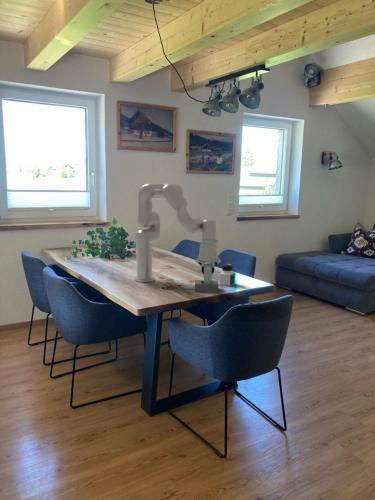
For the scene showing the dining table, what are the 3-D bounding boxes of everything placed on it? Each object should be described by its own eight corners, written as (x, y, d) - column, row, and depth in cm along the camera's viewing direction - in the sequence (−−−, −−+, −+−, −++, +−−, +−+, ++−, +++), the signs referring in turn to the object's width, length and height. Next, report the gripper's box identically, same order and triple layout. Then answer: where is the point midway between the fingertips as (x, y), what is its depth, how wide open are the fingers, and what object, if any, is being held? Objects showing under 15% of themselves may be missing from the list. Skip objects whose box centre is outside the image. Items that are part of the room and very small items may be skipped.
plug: (203, 283, 228) (203, 263, 226) (211, 284, 228) (212, 263, 226) (203, 286, 223) (203, 265, 221) (211, 286, 223) (212, 265, 221)
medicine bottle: (230, 286, 235) (230, 266, 233) (219, 284, 238) (219, 265, 236) (234, 283, 241) (235, 264, 239) (223, 282, 244) (224, 263, 242)
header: (195, 287, 231) (195, 280, 230) (217, 288, 230) (217, 280, 229) (194, 291, 222) (195, 284, 221) (218, 292, 221) (218, 284, 221)
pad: (183, 285, 234) (183, 285, 234) (195, 286, 234) (195, 285, 234) (182, 289, 227) (182, 288, 227) (195, 289, 227) (195, 288, 227)
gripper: (223, 241, 225) (222, 272, 228) (193, 240, 225) (193, 271, 228) (224, 243, 217) (223, 275, 220) (193, 242, 218) (192, 274, 221)
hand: (207, 273), depth 224 cm, fingers closed on plug, 4 cm apart
